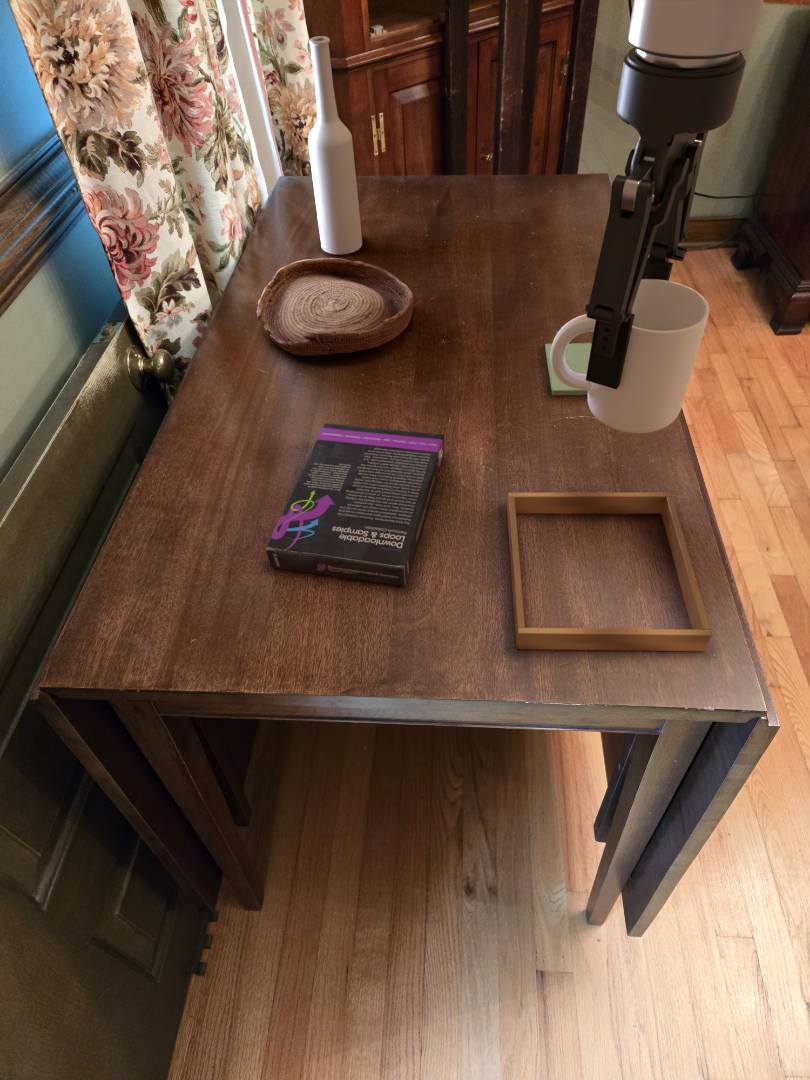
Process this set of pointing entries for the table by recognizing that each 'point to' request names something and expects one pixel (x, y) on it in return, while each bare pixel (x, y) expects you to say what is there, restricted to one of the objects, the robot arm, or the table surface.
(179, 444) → the table surface
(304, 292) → the basket
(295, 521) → the box
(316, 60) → the bottle
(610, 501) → the square wooden frame
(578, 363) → the plate
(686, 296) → the mug
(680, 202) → the robot arm
